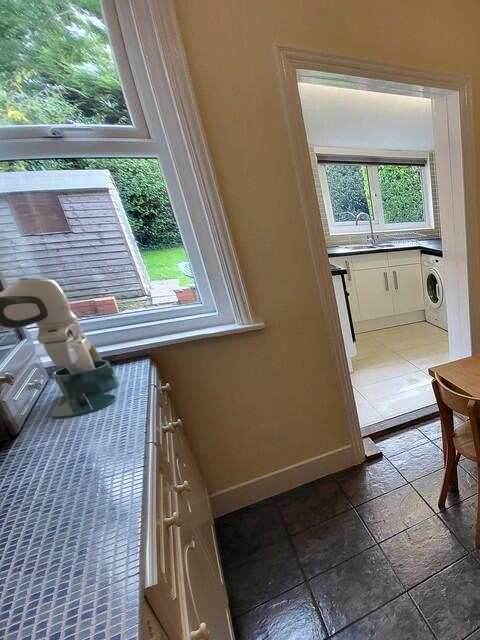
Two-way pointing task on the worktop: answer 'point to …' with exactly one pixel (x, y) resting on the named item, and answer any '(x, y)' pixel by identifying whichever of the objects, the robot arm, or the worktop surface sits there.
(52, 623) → the worktop surface
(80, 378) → the pot
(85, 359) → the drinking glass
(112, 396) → the lid
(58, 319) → the robot arm
